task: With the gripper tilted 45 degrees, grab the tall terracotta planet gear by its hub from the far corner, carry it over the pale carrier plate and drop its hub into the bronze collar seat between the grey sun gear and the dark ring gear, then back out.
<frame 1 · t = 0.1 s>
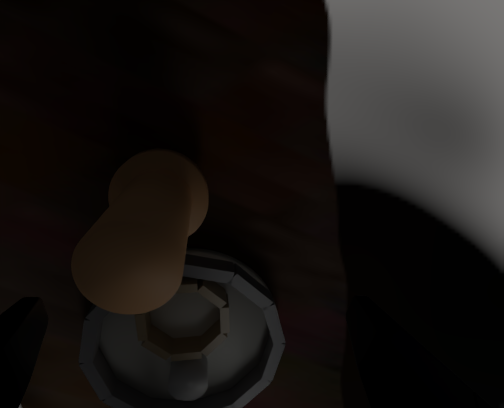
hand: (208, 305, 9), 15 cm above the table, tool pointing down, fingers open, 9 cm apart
carrier plate: (188, 329, 28), on the table
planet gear: (167, 182, 24), on the table
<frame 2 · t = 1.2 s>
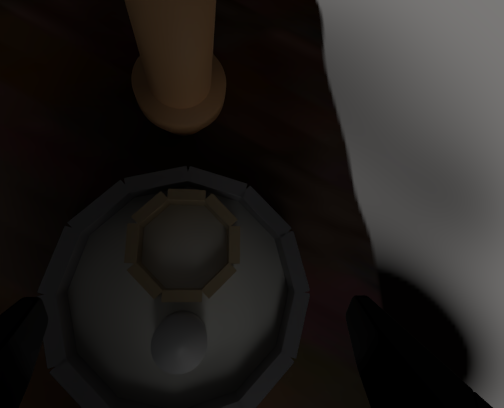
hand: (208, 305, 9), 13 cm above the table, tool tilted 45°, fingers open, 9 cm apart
carrier plate: (184, 289, 22), on the table
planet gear: (183, 111, 25), on the table
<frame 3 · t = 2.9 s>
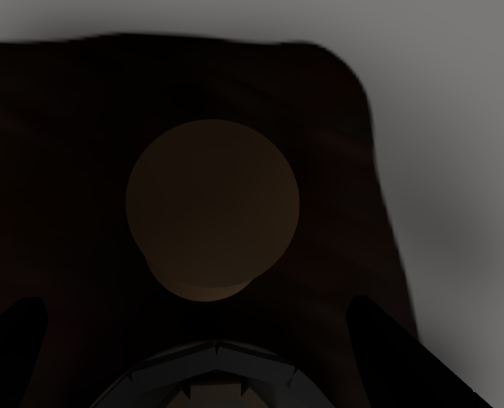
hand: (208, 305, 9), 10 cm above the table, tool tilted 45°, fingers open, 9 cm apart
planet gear: (205, 244, 19), on the table
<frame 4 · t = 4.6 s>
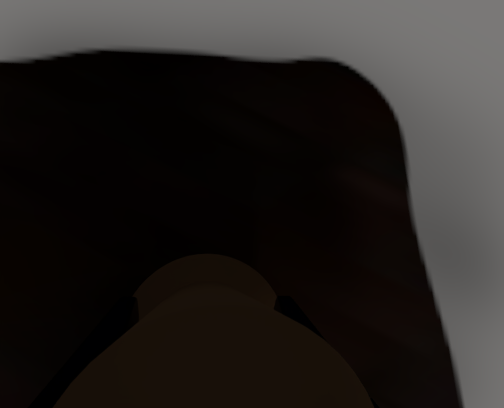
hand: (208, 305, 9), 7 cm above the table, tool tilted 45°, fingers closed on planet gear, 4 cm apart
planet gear: (203, 320, 15), on the table, touching gripper
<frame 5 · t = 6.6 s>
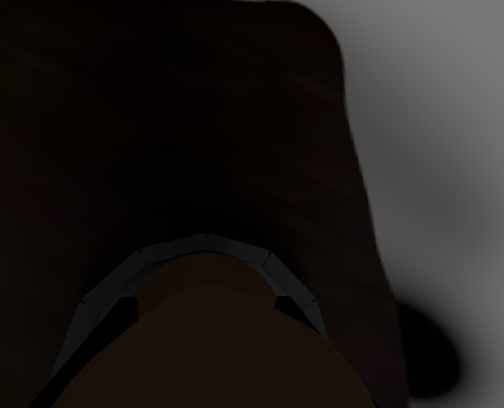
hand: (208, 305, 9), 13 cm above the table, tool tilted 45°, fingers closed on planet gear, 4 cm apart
carrier plate: (201, 358, 21), on the table
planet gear: (203, 319, 15), point 7 cm above the table, touching gripper
when the fingers open (9 cm above the table, at t = 8.5 s): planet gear stays where it is, resting on carrier plate.
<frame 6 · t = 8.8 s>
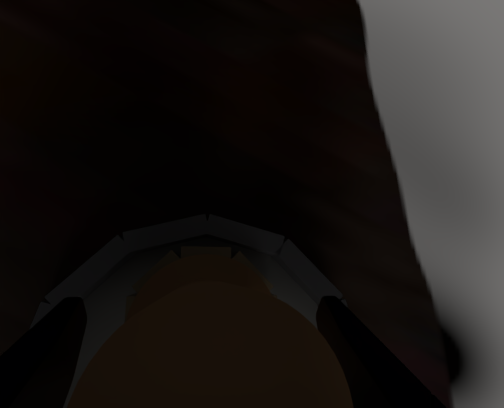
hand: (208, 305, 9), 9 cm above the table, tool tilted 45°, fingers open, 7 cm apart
carrier plate: (200, 372, 17), on the table
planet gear: (203, 318, 16), point 1 cm above the table, touching carrier plate
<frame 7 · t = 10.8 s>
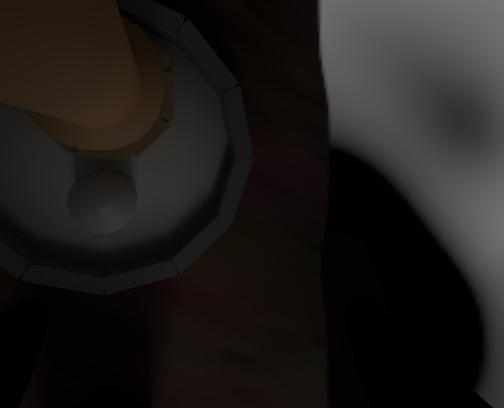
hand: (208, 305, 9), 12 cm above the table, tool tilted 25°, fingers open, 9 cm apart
carrier plate: (111, 148, 19), on the table
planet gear: (108, 95, 18), point 1 cm above the table, touching carrier plate
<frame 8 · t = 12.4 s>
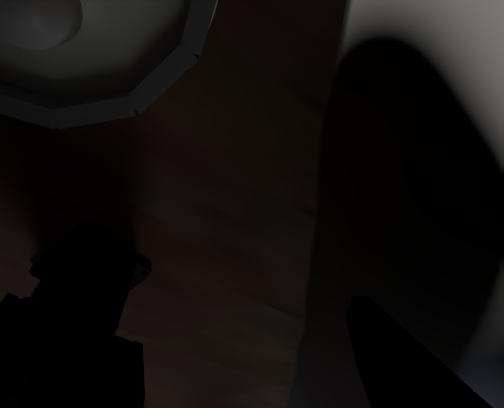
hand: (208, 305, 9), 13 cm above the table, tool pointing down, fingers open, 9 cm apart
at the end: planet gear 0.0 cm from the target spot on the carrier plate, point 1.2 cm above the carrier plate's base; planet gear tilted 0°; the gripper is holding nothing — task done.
